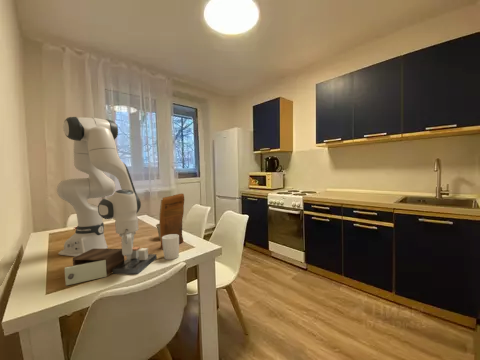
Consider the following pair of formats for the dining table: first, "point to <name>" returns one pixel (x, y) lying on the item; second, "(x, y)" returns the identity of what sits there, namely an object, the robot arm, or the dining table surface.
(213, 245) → the dining table surface
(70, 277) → the door
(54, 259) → the dining table surface
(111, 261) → the wooden box
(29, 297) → the dining table surface
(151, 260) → the console
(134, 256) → the block
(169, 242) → the white cup
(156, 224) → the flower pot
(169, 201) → the pancake mix bag
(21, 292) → the dining table surface
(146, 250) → the block
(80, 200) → the robot arm
